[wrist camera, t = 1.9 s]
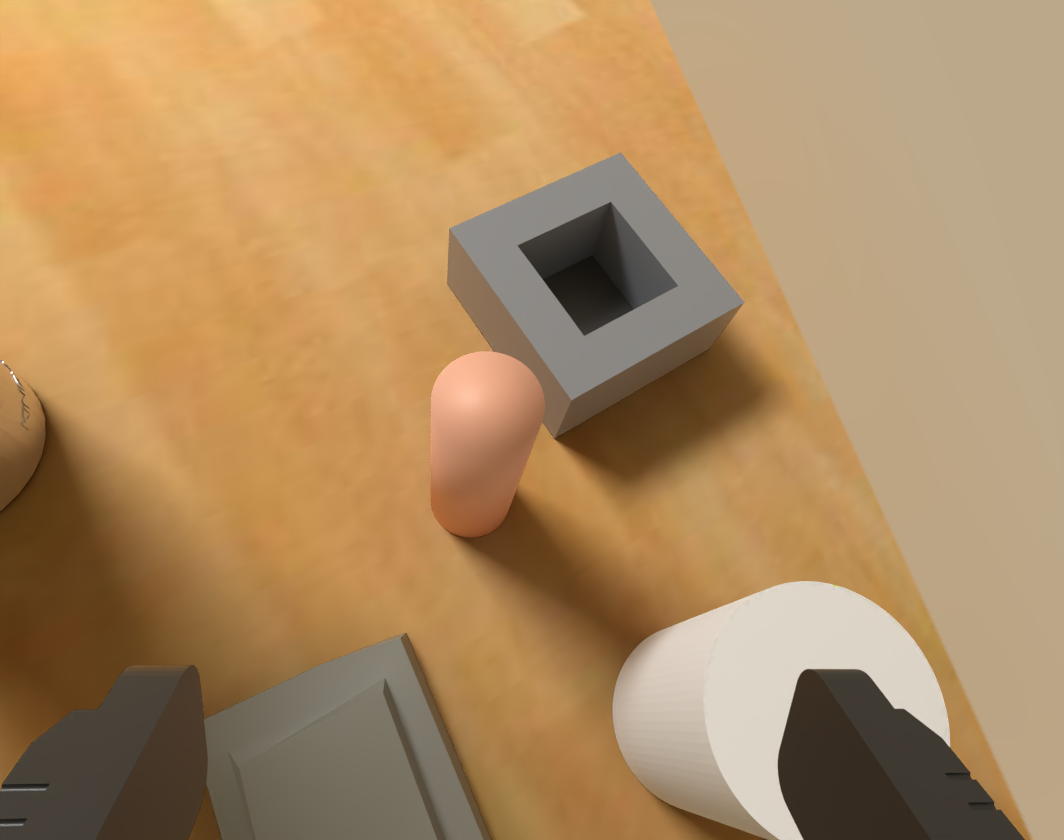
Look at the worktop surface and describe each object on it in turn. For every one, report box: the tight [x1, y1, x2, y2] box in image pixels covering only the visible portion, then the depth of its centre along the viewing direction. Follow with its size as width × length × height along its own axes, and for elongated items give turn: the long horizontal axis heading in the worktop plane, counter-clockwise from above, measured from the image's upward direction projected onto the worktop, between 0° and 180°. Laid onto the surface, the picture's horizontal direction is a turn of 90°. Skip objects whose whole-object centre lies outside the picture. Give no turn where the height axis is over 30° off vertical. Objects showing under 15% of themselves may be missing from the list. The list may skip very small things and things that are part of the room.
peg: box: [431, 351, 545, 538], centre depth 31 cm, size 4×4×12 cm
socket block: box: [447, 153, 744, 439], centre depth 39 cm, size 11×11×5 cm
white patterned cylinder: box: [613, 581, 950, 840], centre depth 28 cm, size 8×8×12 cm
